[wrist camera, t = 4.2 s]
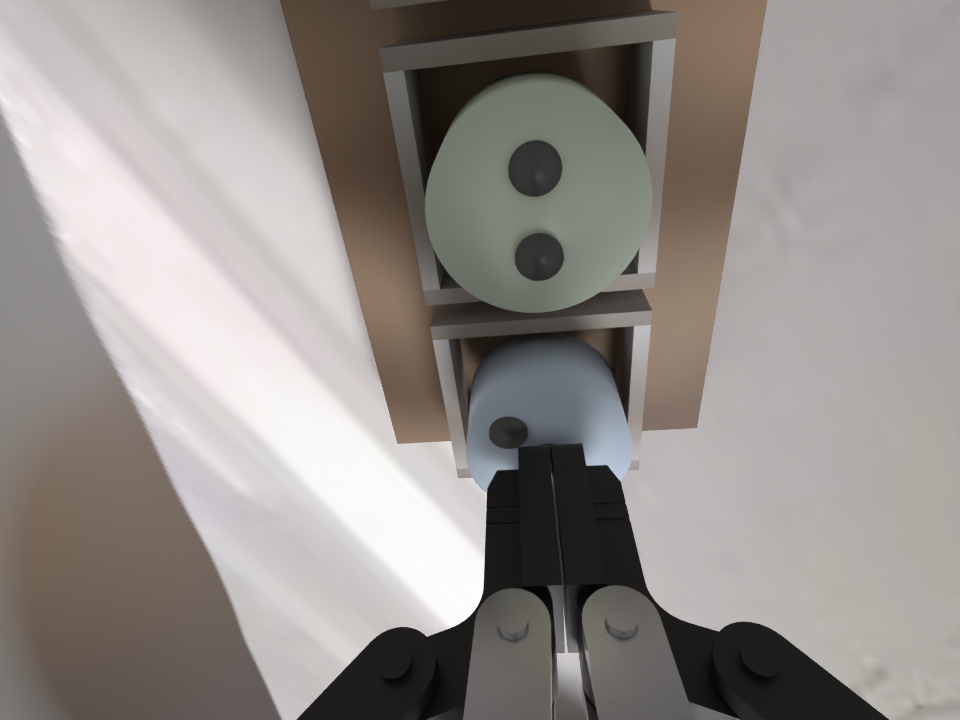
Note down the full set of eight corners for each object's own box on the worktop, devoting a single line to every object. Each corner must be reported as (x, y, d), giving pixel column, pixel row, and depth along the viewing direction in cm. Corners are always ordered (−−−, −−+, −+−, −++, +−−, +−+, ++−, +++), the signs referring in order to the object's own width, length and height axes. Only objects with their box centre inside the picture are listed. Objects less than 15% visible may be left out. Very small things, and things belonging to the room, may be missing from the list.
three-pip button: (462, 337, 14) (455, 401, 12) (617, 327, 13) (639, 389, 11) (479, 449, 16) (475, 518, 14) (612, 442, 16) (629, 512, 14)
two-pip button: (425, 83, 10) (404, 105, 8) (629, 59, 10) (663, 75, 8) (452, 268, 13) (441, 323, 11) (621, 253, 12) (645, 308, 10)
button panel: (227, -346, 10) (84, -522, 6) (793, -459, 9) (966, -732, 6) (406, 406, 20) (386, 487, 16) (679, 390, 19) (717, 473, 16)
